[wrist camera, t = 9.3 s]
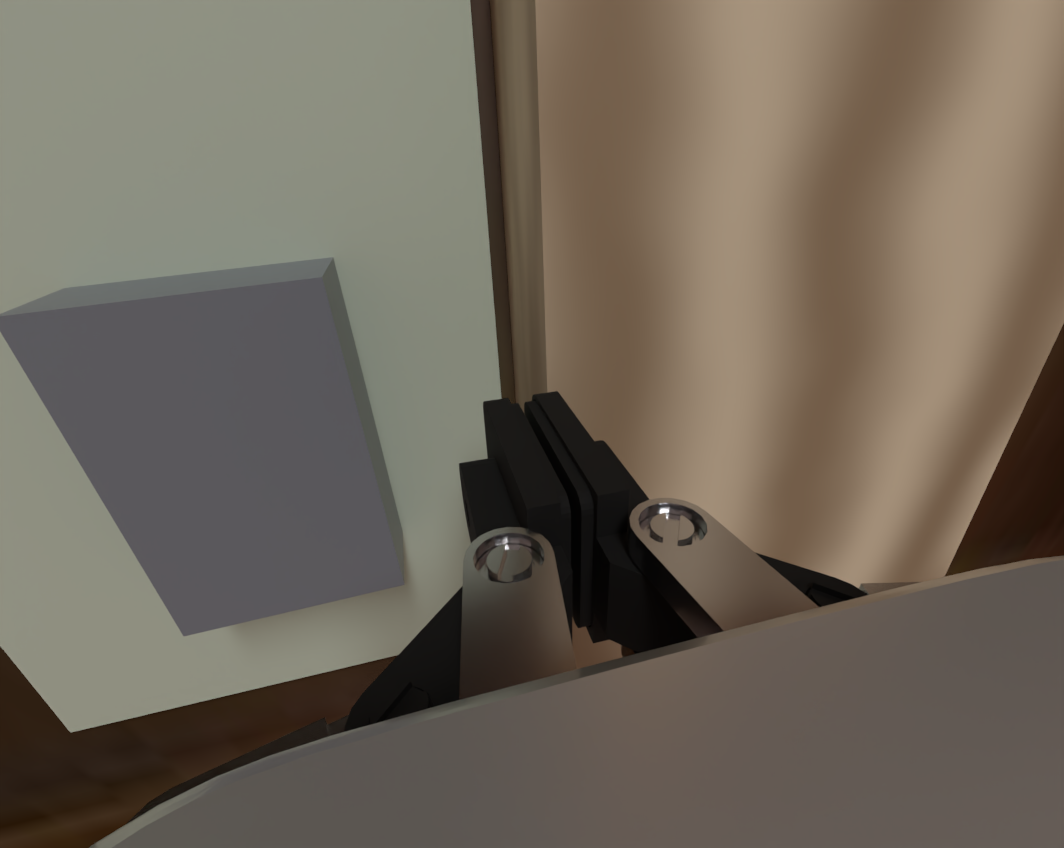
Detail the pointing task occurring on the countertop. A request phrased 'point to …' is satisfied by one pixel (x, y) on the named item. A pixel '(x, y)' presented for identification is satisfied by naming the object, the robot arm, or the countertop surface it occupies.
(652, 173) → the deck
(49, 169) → the mat
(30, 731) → the countertop surface
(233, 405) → the grey flat block
